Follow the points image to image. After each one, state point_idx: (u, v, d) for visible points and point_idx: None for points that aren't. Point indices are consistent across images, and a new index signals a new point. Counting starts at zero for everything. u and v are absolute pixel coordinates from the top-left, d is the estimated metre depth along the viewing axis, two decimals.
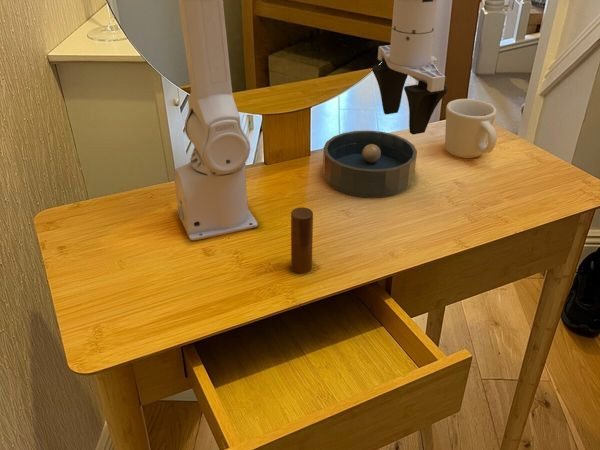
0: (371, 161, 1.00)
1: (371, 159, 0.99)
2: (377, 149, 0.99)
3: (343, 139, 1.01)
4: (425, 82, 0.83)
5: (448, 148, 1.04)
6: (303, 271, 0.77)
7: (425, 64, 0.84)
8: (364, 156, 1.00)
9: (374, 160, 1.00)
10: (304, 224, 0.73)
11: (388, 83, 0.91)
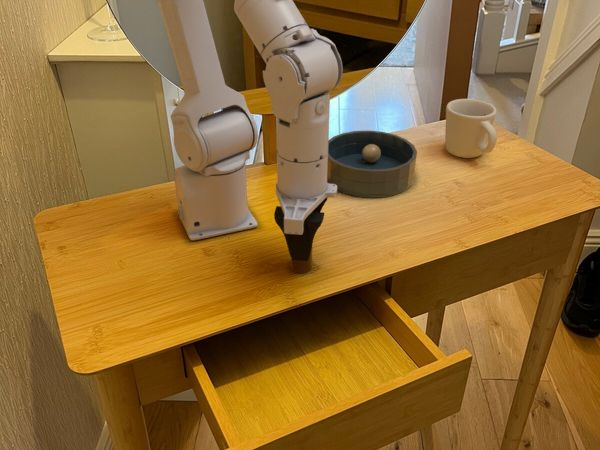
0: (371, 161, 1.00)
1: (371, 159, 0.99)
2: (377, 149, 0.99)
3: (343, 139, 1.01)
4: None
5: (448, 148, 1.04)
6: (303, 271, 0.77)
7: (305, 197, 0.69)
8: (364, 156, 1.00)
9: (374, 160, 1.00)
10: None
11: None
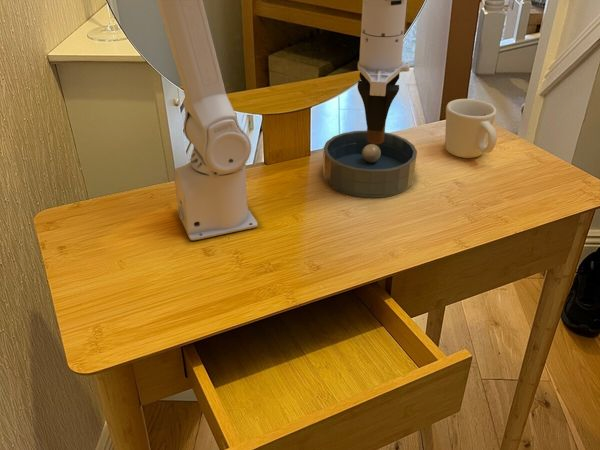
0: (371, 161, 1.00)
1: (371, 159, 0.99)
2: (377, 149, 0.99)
3: (343, 139, 1.01)
4: None
5: (448, 148, 1.04)
6: (377, 142, 0.91)
7: (385, 69, 0.83)
8: (364, 156, 1.00)
9: (374, 160, 1.00)
10: None
11: None
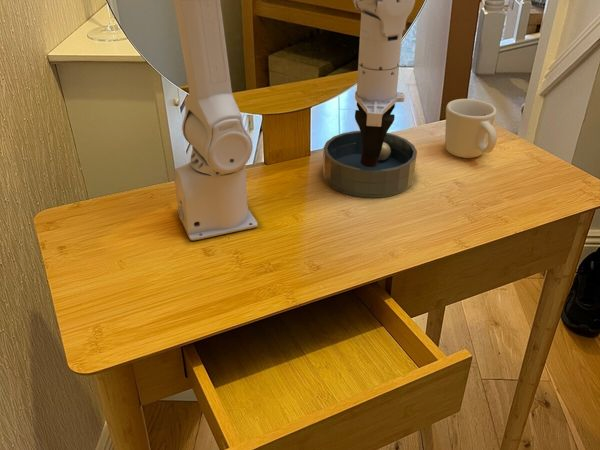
0: (380, 154, 1.00)
1: (382, 152, 1.00)
2: (390, 153, 1.01)
3: (343, 139, 1.01)
4: None
5: (448, 148, 1.04)
6: (371, 166, 0.95)
7: (381, 99, 0.87)
8: None
9: (382, 156, 1.00)
10: None
11: None
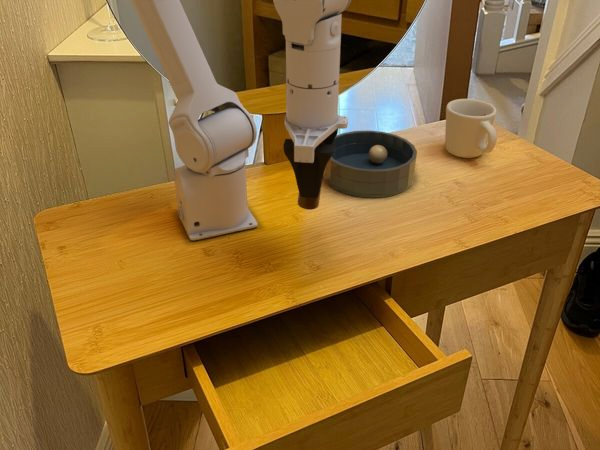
0: (377, 162, 1.00)
1: (379, 161, 0.99)
2: None
3: (343, 139, 1.01)
4: None
5: (448, 148, 1.04)
6: (311, 207, 0.75)
7: (316, 126, 0.67)
8: (374, 155, 0.99)
9: (380, 162, 1.00)
10: None
11: None
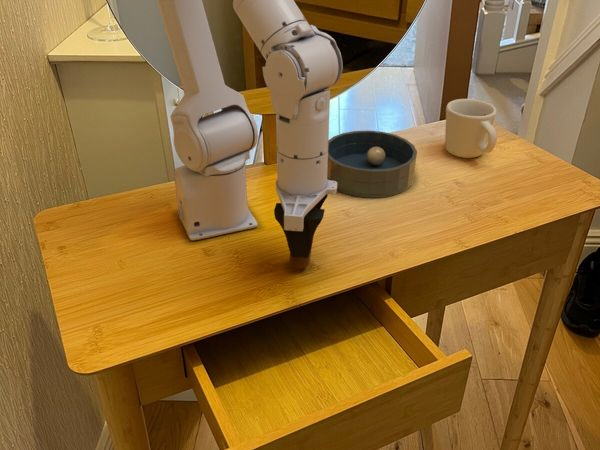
0: None
1: (378, 164, 0.99)
2: (384, 155, 0.99)
3: (343, 139, 1.01)
4: None
5: (448, 148, 1.04)
6: (302, 266, 0.77)
7: (305, 193, 0.69)
8: (371, 161, 0.99)
9: (379, 164, 1.00)
10: None
11: None
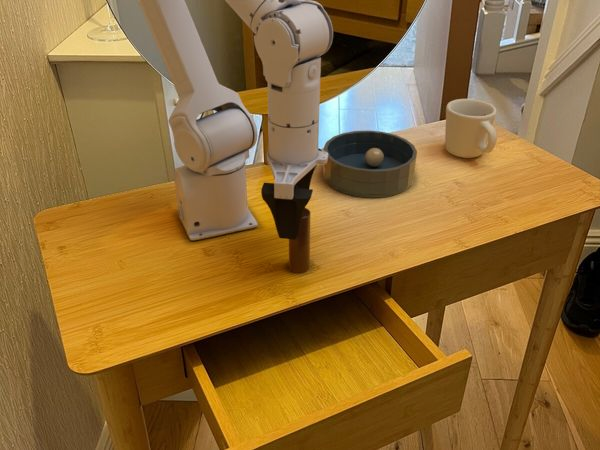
0: None
1: None
2: (382, 156, 0.98)
3: (343, 139, 1.01)
4: None
5: (448, 148, 1.04)
6: (301, 270, 0.77)
7: (296, 163, 0.70)
8: (370, 165, 0.99)
9: None
10: (302, 223, 0.73)
11: None
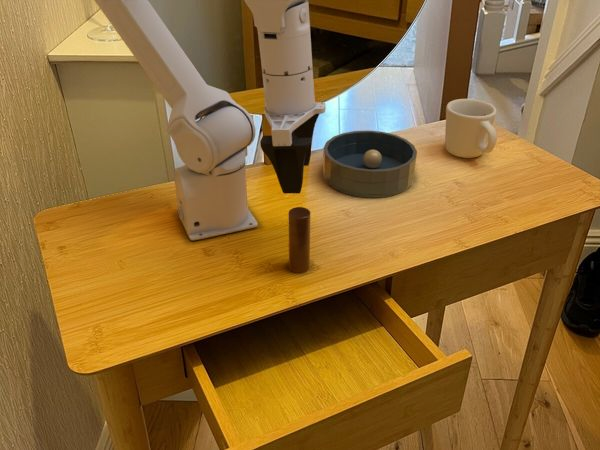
0: None
1: None
2: (380, 158, 0.98)
3: (343, 139, 1.01)
4: None
5: (448, 148, 1.04)
6: (302, 270, 0.77)
7: (293, 112, 0.70)
8: None
9: None
10: (302, 223, 0.73)
11: None
